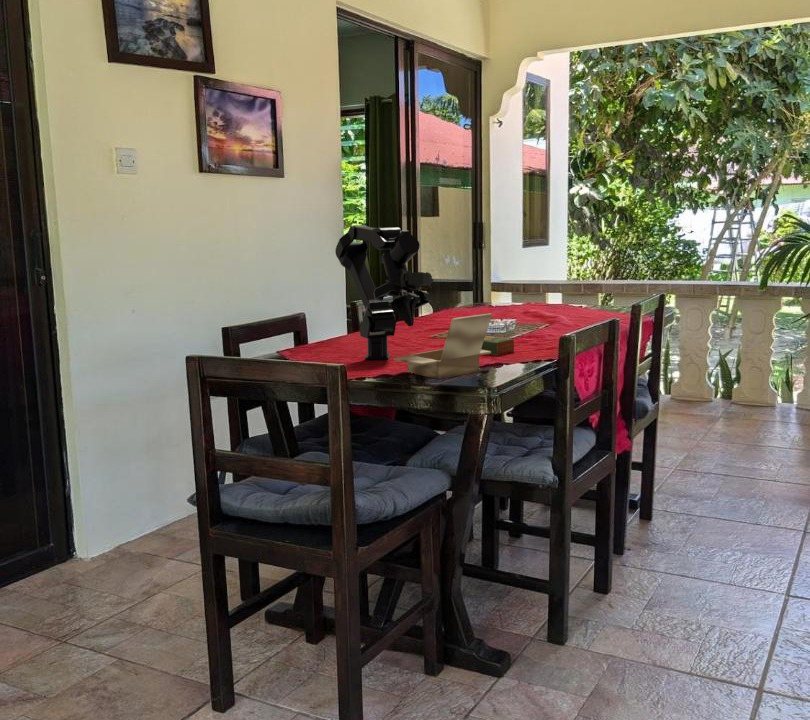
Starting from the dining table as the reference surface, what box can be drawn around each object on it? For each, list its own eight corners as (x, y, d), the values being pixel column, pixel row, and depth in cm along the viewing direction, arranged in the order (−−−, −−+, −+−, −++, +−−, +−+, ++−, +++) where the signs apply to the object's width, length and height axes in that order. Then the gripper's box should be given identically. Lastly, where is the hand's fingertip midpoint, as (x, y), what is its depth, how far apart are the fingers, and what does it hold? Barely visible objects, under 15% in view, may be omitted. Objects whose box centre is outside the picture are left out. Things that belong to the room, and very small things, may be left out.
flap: (452, 318, 202) (453, 319, 201) (490, 313, 210) (492, 314, 210) (440, 359, 207) (441, 360, 207) (478, 353, 215) (479, 354, 215)
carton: (471, 346, 255) (471, 332, 254) (514, 352, 244) (514, 338, 243) (453, 350, 249) (453, 336, 248) (497, 356, 238) (497, 341, 237)
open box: (392, 374, 214) (392, 357, 213) (460, 362, 229) (460, 346, 228) (423, 382, 205) (423, 364, 204) (492, 368, 220) (492, 351, 219)
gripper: (400, 251, 210) (416, 309, 206) (440, 265, 225) (455, 319, 221) (366, 269, 215) (380, 325, 211) (407, 281, 231) (421, 334, 227)
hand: (411, 325), depth 217 cm, fingers closed
